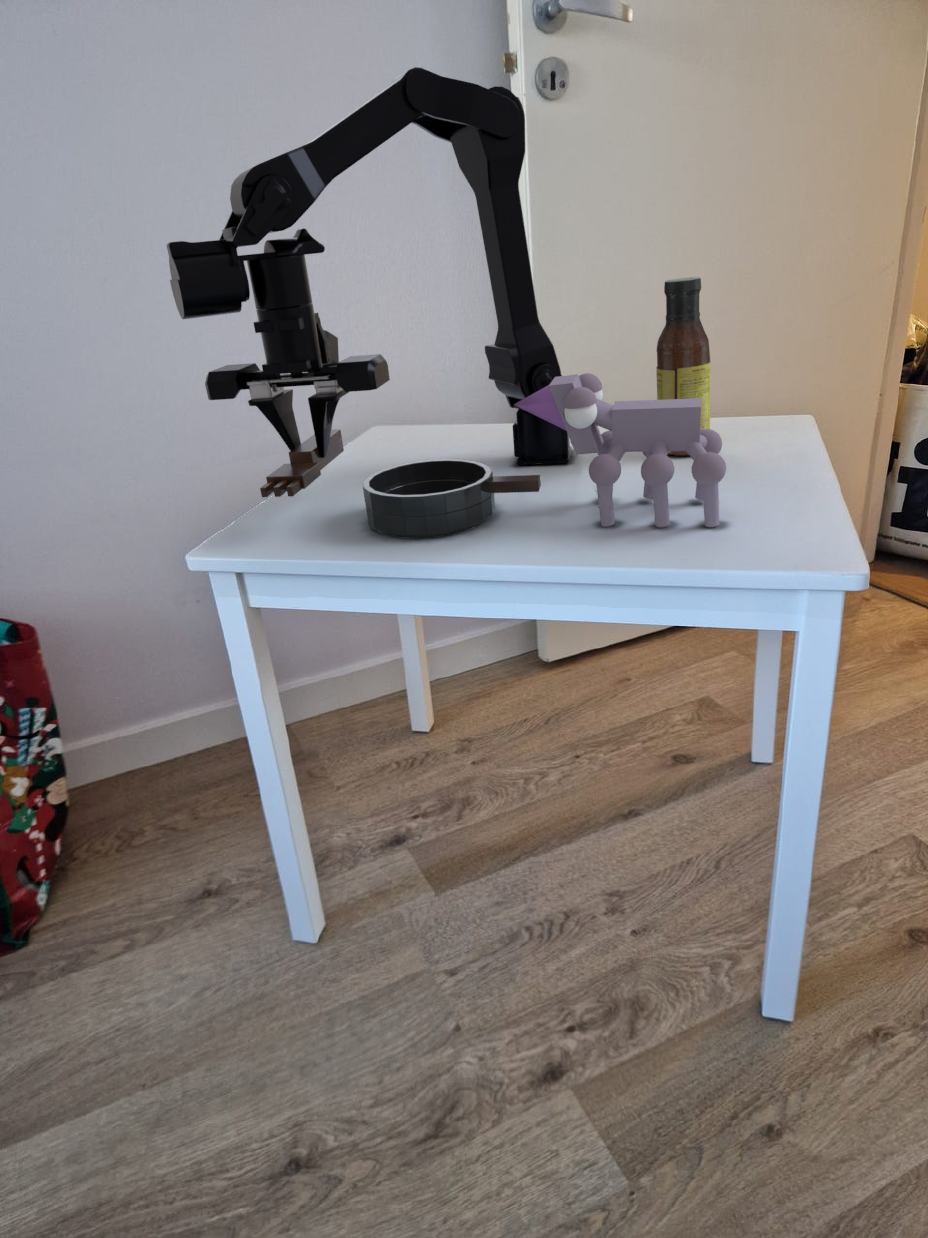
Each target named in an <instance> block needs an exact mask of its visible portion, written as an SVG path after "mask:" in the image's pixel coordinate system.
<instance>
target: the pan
mask: <svg viewBox="0 0 928 1238" xmlns="http://www.w3.org/2000/svg"><path fill="white" fill-rule="evenodd" d="M492 477H494V473H493V470H492V468H491V467H490V466H489V465H487V464H485V463H482V462H479V461H474V460H470V459H469V460H468V459H459V458H458V459H457V458H455V459H454V458H444V459H443V458H442V459H441V458H440V459H427V460H426V459H425V460H418V461H411V462H406V463H401V464H397V465H393V466H389V467H387V468H386V467H385V468H384V469H380V470H378V471H376V472H374V473H372V474H370V475H368V476H367V477H366V478H365V479H364V480H363V481H362V491H363V497H364V503H365V511H366V517H367V524H368V526H369V527H371V529H373V530H375V531H377V532H380V533H381V534H383V535H386V536H390V537H393V538H400V539H401V538H402V539H430V538H431V539H433V538H440V537H445V536H452V535H456V534H459V533H463V532H466V531H469V530H472V529H474V528H476V527H478V526H479V525H482V524H484V522H486V520H487V519H489V518H490V517H491V516H493V515H494V512H495V511H496V499H495V493H491V490H490V481H491V479H492Z"/></svg>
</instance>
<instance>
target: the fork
mask: <svg viewBox="0 0 928 1238" xmlns="http://www.w3.org/2000/svg"><path fill="white" fill-rule="evenodd" d="M344 451H345V449H344V442H343V436H342V429H340V428H337V429H336V428H335V429H331V434H330V440H329V446H328V452H327V456H326V457H324V458H321V457H320V454H319V451H318V448H317V444H316V439H315V434H313V435H311V436H309V437H308V438H307V439H305V440H304V441H303V442H301V444H300V445H299V446H297V447H296V448H294V449H293V450H291V451H290V450H289V452H288V457H289V463H283V464H282V465H281V466H279V467H278V468H277V469H275V470H274V471H272V473H270V474H268V475H267V476H266V477H265V479H266V483H265V484H264V485H262V486H261V487H260V488H259V490H260V494H261V498H269V496H270V495H272V494H274V497H275V498H281V497H283V495H285V494H286V493H287V497H294V496H296V495H297V494H298V493H299V492H300V491H301V490H305V489H307V488H308V487H309V486H310V485H311V484H312V483H313V482H315V481H316V480H317V479H318V478H319V477H321V476H322V472H321V471H322V470H323V469H325V467H326V466H328V465H329V464H330V463H331V462H332V461H334V460H335V459H336V458H337V457H339V455H341V454H343V452H344Z"/></svg>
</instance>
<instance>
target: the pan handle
mask: <svg viewBox="0 0 928 1238" xmlns="http://www.w3.org/2000/svg"><path fill="white" fill-rule="evenodd" d="M541 481H542V480H541V474H527V475H525V474H524V475H497V476H496V475H495V476H494V475H493V477H492V479H491V481H490V490H491V493H494V494H506V493H508V494H510V493H538V492H540V489H541V487H542V484H541V483H542V482H541Z"/></svg>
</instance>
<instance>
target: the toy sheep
mask: <svg viewBox="0 0 928 1238" xmlns="http://www.w3.org/2000/svg"><path fill="white" fill-rule="evenodd" d="M603 395H604V393H603V384H602V381H601V380H600V378H599V377H598V376H597V375H595V374H593V373H589V372H588V373H587V372H586V373H582V374H580V375H579V374H578V373H576V374H569V375H567V374H566V375H562V376H558V377H555V378H554V379H553V381H552V382H551V383H550V385H548V386H546V387H544V388H543V389H541V390H539V391H537V392H535V393H534V394H532V395H530V396H528V397H526V398H525V399H523V400H521V401H519V402H518V403H516V404H514V405H515V406H517V407H519V408H521V409H523V410H525V411H527V412H529V413H532V414H534V415H536V416H538V417H540V418H542V419H544V420H546V421H548V422H550V423H552V424H554V425H556V426H558V427H560V428H562V429H564V430H566V431H567V433H568V436H569V440H570V443H571V445H572V446H571V447H572V448H573V451H574V453H575V455H576V456H578V455H589V454H590V455H591V454H597V456H595V457H594V458H593V459H592V460H591V461H590V464H589V466H588V475H589V478H590V480H591V481H592V482H593V483H594V485H595V486H596V489H595V488H594V487H593V489H594V491H595V492H596V495H597V502H598V505H596V507H597V508H598V510H599V521H600V525H601V527H604V528H607V527H611V526H613V525H614V524H615V523H616V520H615V509H614V501H613V497H614V495H613V494H614V493H613V492H614V484H616V482H618V480H619V479H620V477H621V474H622V466H621V460H622V459H623V456H624V455H625V454H626V453H642V454H643V456H645V459H644V460H643V462H642V463H641V466H640V475H641V478H642V480H643V493H642V494H643V495H642V497H643V498H645V499H649V500H653V501H652V502H653V512H654V525H655V527H656V528H665V527H668V526H670V523H671V519H670V505H669V489H668V483H669V482H670V481H671V480H672V479H673V477H674V474H675V465H674V462H673V461H672V459H671V458H670V456H668V455H669V454H668V453H669V451H687V452H688V454H689V455H688V456H690V458H691V459H692V461H693V462H692V465H691V470H690V471H691V475H692V478H693V479H694V481H695V482H696V485H695V495H694V498H695V499H697V500H702V501H703V519H704V520H703V521H704V526H705V527H706V528H715V527H717V526H720V498H719V497H720V496H719V495H720V494H719V493H720V492H719V483H720V482H721V481H722V480H723V478H724V477H725V476H726V472H727V465H726V462H725V461H726V460H725V459H724V458H723V457H722V456H721V455H720V452H721V450H722V448H723V439H722V437H721V435H720V433H719V432H717V431H716V430H714V429H711V428H710V429H703V430H700V425H701V401H702V398H695V399H667V400H657V399H643V400H642V399H639V400H616V401H614V403H613V404H612V403H609V402H607V401H605V400H603V398H604V397H603ZM599 427H600V428H602V429H605V430H606V431H604V432H602V433H601V431H600V428H599Z"/></svg>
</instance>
